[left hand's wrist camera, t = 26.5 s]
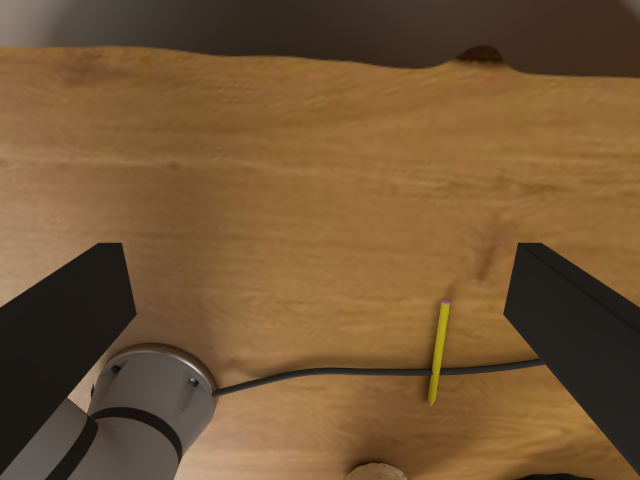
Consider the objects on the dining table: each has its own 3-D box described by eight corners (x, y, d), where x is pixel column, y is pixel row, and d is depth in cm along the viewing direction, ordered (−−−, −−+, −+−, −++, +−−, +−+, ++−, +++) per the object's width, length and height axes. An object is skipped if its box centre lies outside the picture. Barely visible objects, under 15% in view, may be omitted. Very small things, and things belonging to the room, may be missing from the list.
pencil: (440, 298, 44) (443, 303, 43) (448, 298, 44) (451, 303, 43) (425, 404, 50) (427, 410, 49) (432, 404, 50) (434, 410, 49)
